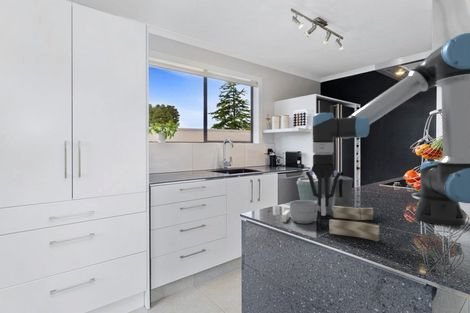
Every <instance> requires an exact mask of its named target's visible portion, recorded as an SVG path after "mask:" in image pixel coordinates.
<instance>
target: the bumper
mask: <svg viewBox="0 0 470 313" xmlns="http://www.w3.org/2000/svg"><path fill="white" fill-rule="evenodd" d="M290 218H291V213H290V209H286V210H285V211H284V212H282V213H281V222H282V223H287V222H288V220H289V219H290Z"/></svg>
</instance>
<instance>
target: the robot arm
mask: <svg viewBox="0 0 470 313" xmlns="http://www.w3.org/2000/svg"><path fill="white" fill-rule="evenodd" d="M436 85H437V86H439V87H440V88H441V118H442V119H441V121H442V123H441V125H442V127H441V129H442V157H441V158H440V159H439V160H434V161H433V160H432V161H424V162H422V163H421V165H420V170H419V173H420V186H419V187H420V192H419V193H420V197H419V201H418V204H417V206H416V207H415V208H416V209H415V210H414V218H415V219H417V220H419V221H421V222H425V223H428V224H433V225H440V226H449V227H450V226H452V227H453V226H455V227H456V226H463V225H465V215H464V212H463V211H462V207H461V205H460V203H461V204H470V32H467V33H461V34H458V35H456V36H454V37H453V38H450V39H449V40H447V41H446V42H445V43H444V44H443V45H441V46H440V47H438V48H437V49H435V50H434V51H432V52H431V53H430V54H429V55H428V56H427V57H426V58H425V59H423V61H422V62H420V63H419V64H418V65H417V66H415V67H414V68H413V69H411V70H410V71H409V72H408V74H407V76H406V77H404V78H403V79H401V80H399V81H398V82H397V83H395V84H394V85H393V86H391V87H389V88H388V89H387V90H385V91H384V92H382V93H381V94H379V95H378V96H377V97H375V98H374V99H372V100H370V101H369V102H368V103H366V104H365V105H364V106H362V107H361V108H359V109H357V111H355V112H353V113H351V115H349V116H347V117H334V114H333V112H319V113H315V114H313V116H312V167H311V169H310V170H308V171H306V172H305V175H306V176H307V177H308V178H309V181H310V185H311V189H312V192H313V196H316V197H318V206H320V209H321V210H320V215H321V216H326V215H327V208H328V207H329V206H330V198H333V197H334V192H335V188H336V185H337V181H338V178H339V177H340V176H341V172H342V171H338V170H336V167H335V165H334V164H335V163H334V161H335V160H334V157H335V156H334V154H333V153H334V152H335V151H334V149H335V148H334V139H339V138H340V139H344V140H347V139H351V138H352V139H353V138H356V139H357V138H358V139H360V138H366V137H368V136H369V134H370V126H371V125H372V123H374V122H375V121H377V120H379V119H380V118H383V116H384V115H387V114H388V113H389V112H391V111H393V110H394V109H396V108H397V107H398V106H400V105H401V104H403V103H405V102H406V101H408V100H409V99H411V98H412V97H414V96H415V95H417V94H418V93H420V92H427V91H428V90H429V89H430V88H432V87H435V86H436ZM313 175H315V177H316V178H317V179H318V193H317V191H316V187H315V184H314V180H313V178H314V177H313ZM332 175H333V176H334V177H335V178H334V182H333V186H332V185H331V190H330V186H329V185H330V178H331V177H332ZM323 179H324V197H323V181H322V180H323Z"/></svg>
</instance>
